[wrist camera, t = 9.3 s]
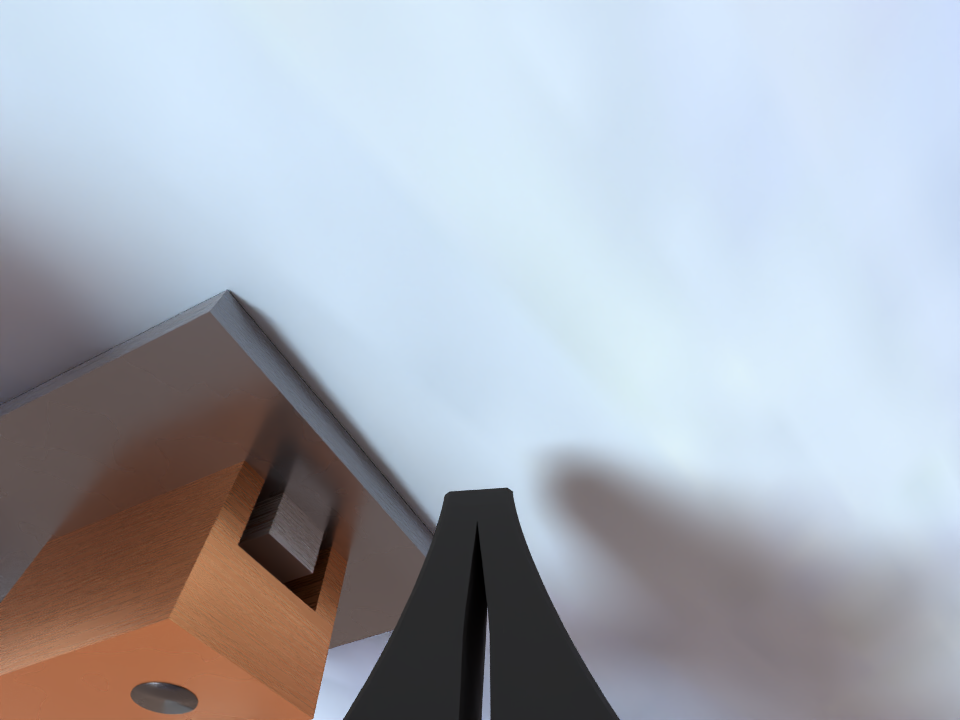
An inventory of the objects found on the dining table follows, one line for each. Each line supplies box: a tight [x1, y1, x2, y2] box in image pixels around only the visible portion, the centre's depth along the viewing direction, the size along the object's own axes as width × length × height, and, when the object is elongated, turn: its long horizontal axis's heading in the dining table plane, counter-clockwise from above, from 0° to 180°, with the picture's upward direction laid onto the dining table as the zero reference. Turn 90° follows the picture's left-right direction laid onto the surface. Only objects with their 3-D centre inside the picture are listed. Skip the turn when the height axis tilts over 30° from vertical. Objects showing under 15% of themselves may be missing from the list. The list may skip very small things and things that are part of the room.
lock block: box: [0, 461, 347, 720], centre depth 14 cm, size 7×5×4 cm, turn 116°
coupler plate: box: [0, 290, 433, 649], centre depth 16 cm, size 12×19×5 cm, turn 116°
